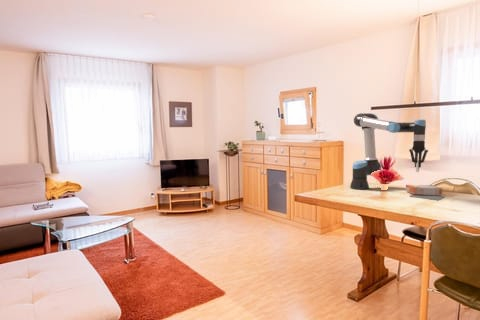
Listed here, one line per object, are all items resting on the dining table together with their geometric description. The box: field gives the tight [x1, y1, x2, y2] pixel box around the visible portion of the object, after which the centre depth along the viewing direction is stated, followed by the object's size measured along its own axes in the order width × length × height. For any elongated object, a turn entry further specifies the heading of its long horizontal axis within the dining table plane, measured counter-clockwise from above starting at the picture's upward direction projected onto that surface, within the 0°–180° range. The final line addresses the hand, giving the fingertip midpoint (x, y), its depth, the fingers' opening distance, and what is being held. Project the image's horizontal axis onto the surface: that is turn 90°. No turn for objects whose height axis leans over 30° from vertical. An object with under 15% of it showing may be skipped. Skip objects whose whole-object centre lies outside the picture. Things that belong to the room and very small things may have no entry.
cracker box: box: [405, 184, 443, 196], centre depth 245 cm, size 14×6×21 cm
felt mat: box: [408, 194, 445, 201], centre depth 235 cm, size 19×16×1 cm
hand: (417, 171), depth 238 cm, fingers closed
